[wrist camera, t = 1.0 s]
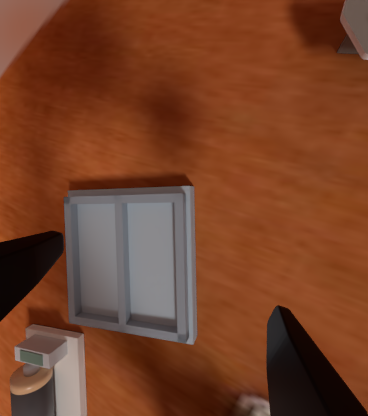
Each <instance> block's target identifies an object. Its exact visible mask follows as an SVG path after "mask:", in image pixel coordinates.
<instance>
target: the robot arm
mask: <svg viewBox="0 0 368 416" xmlns="http://www.w3.org/2000/svg"><path fill="white" fill-rule="evenodd" d="M63 250H64V237H63V234H62V233H60V232H57V231H49V232H44V233H40V234H35V235H31V236H27V237H22V238H18V239H13V240H9V241H4V242H0V321H1V320H2V319H3V318H4V317H5V316H6V315H7V314H8V313H9V312H10V311H11V310H12V309H13V308H14V307H15V306H16V305H17V304H18V303H19V302H20V301H21V300H22V299H23V298H24V297H25V296H26V295H27V294H28V293H29V292H30V291H31V290H32V289H33V288H34V287H35V286H36V285H37V284H38V283H39V282H40V280H41V279H42V278H43V277H44V276H45V274H46V273H47V272H48V271H49V269H50V268H51V267H52V266H53V265H54V263H55V262H56V261H57V260H58V258H59V257H60V256H61V255H62V253H63ZM267 380H268V392H269V404H270V415H271V416H368V414H367V411H366V410H365V408H364V407H363V406H362V405H361V403H360V402H359V401H358V399H357V398H356V397H355V395H354V394H353V393H352V391H351V390H350V389H349V387H348V386H347V385H346V383H345V382H344V381H343V380H342V378H341V377H340V376H339V374H338V373H337V372H336V370H335V369H334V368H333V366H332V365H331V364H330V362H329V361H328V360H327V358H326V357H325V356H324V355H323V353H322V352H321V351H320V349H319V348H318V347H317V345H316V344H315V343H314V341H313V340H312V339H311V337H310V336H309V335H308V333H307V332H306V331H305V329H304V328H303V327H302V326H301V324H300V323H299V322H298V320H297V319H296V318H295V316H294V315H293V314H292V312H291V311H290V310H289V309H288V308H285V307H282V306H279V305H278V306H276V307H275V309H274V311H273V312H272V314H271V316H270V318H269V320H268V324H267Z"/></svg>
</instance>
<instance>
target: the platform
mask: <svg viewBox="0 0 368 416" xmlns="http://www.w3.org/2000/svg"><path fill="white" fill-rule="evenodd" d="M340 22H341V24H342V25H343V27H344V29H345V31H346V32H347V35H346V37H345V38H344V40H343V42H342V44H341V45H340V47H339V49H338V51H337V53H348V54H359V55H360V57H361V58H362V59H365V60H368V0H345V2H344V6H343V9H342V13H341V17H340Z"/></svg>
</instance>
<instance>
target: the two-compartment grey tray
mask: <svg viewBox="0 0 368 416" xmlns="http://www.w3.org/2000/svg"><path fill="white" fill-rule="evenodd" d="M64 215H65V238H66V261H67V284H68V307H69V323H73V324H77V325H83V326H89V327H95V328H100V329H106V330H112V331H117V332H123V333H129V334H135V335H140V336H146V337H152V338H157V339H163V340H169V341H175V342H180V343H186V344H192V345H193V344H194V342H195V340H196V337H197V303H196V255H195V208H194V186H172V187H147V188H122V189H98V190H73V191H68V197H64Z"/></svg>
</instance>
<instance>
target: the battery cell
mask: <svg viewBox="0 0 368 416" xmlns="http://www.w3.org/2000/svg"><path fill="white" fill-rule="evenodd" d="M10 392H11V410H12V416H55V412H54V391H53V370H52V368H50V369H47V368H43V367H39V366H36V365H32V364H28V363H26V364H24V365H23V366H21V367H20V368H18V369H17V370H16V371H15V372H14V373H13V374H12V375H11V377H10Z"/></svg>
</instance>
